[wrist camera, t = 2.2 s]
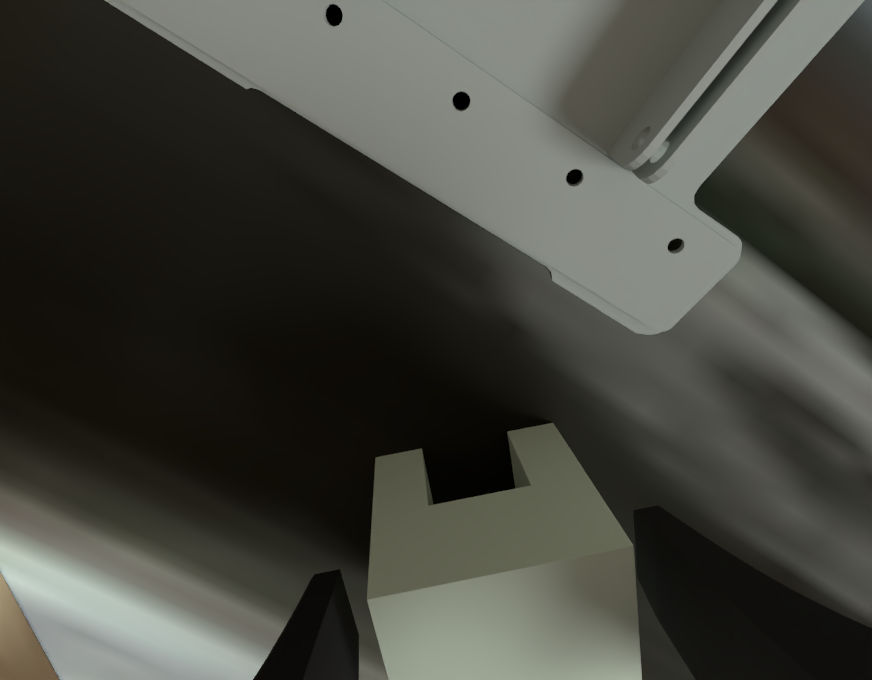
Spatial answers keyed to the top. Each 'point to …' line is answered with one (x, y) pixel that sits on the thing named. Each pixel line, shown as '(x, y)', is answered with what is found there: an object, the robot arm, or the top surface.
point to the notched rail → (19, 643)
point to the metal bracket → (536, 114)
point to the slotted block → (502, 573)
